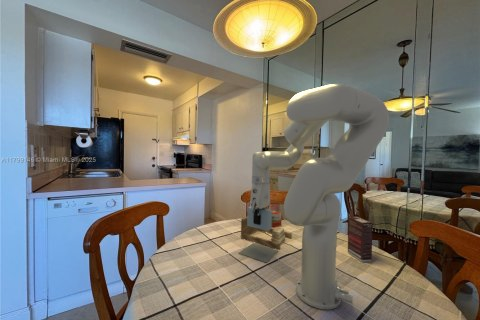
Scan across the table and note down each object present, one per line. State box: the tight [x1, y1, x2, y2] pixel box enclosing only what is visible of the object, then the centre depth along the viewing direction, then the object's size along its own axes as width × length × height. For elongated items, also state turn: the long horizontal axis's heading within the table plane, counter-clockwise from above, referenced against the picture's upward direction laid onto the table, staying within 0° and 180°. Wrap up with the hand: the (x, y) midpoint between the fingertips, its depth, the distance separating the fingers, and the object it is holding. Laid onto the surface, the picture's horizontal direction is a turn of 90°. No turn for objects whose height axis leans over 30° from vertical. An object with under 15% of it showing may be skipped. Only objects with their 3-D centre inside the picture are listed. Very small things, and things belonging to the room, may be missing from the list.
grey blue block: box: [246, 206, 273, 231], centre depth 86 cm, size 10×4×8 cm, turn 56°
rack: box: [240, 216, 293, 251], centre depth 101 cm, size 21×16×10 cm
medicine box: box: [272, 210, 282, 228], centre depth 120 cm, size 15×8×8 cm, turn 113°
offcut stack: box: [270, 227, 286, 245], centre depth 98 cm, size 4×8×6 cm, turn 146°
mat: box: [238, 242, 279, 264], centre depth 85 cm, size 13×12×1 cm
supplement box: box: [347, 216, 373, 263], centre depth 83 cm, size 9×5×16 cm, turn 9°
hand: (259, 222), depth 86 cm, fingers closed on grey blue block, 3 cm apart
